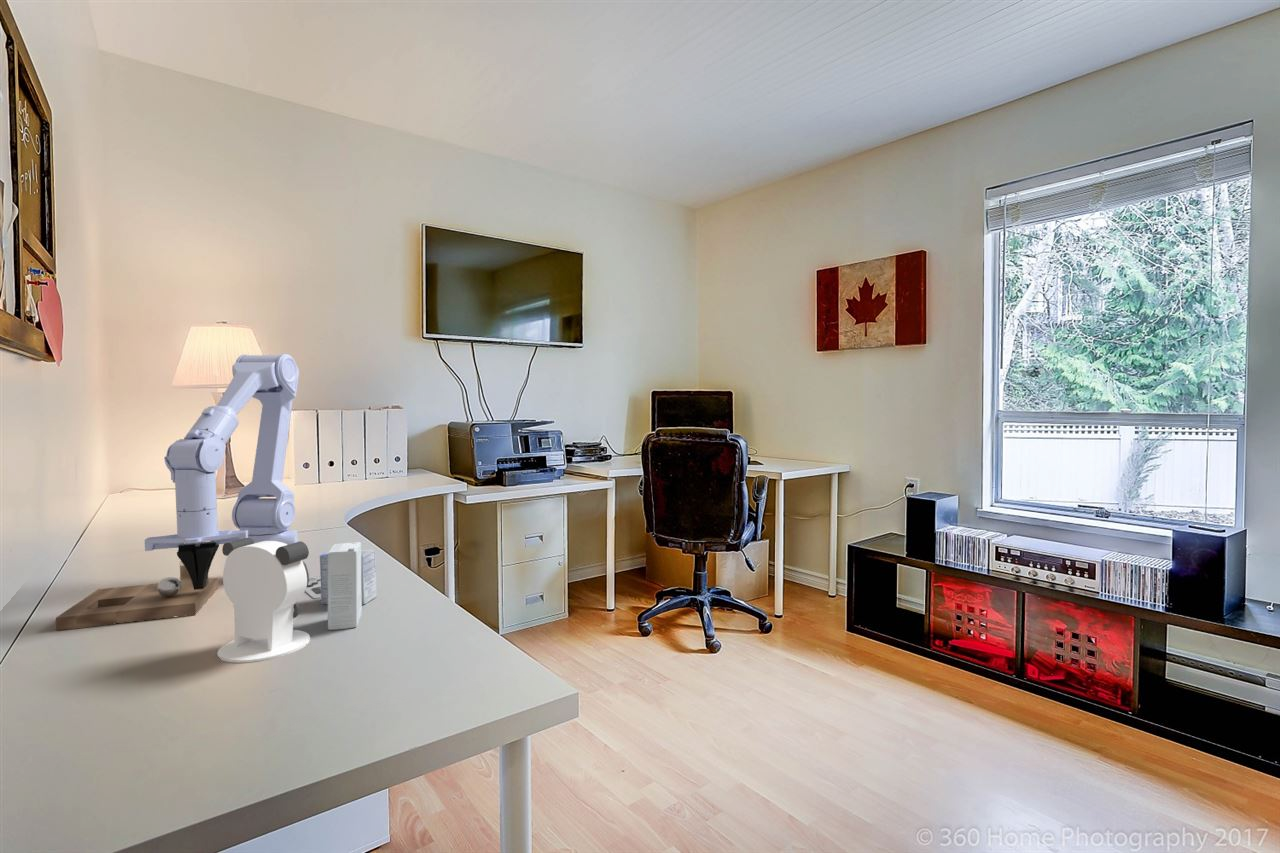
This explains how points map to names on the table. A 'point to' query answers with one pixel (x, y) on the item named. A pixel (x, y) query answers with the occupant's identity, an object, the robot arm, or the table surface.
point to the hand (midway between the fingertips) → (200, 587)
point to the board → (133, 605)
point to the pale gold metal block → (186, 577)
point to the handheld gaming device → (314, 587)
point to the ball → (168, 586)
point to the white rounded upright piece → (264, 598)
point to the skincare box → (344, 586)
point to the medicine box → (366, 576)
